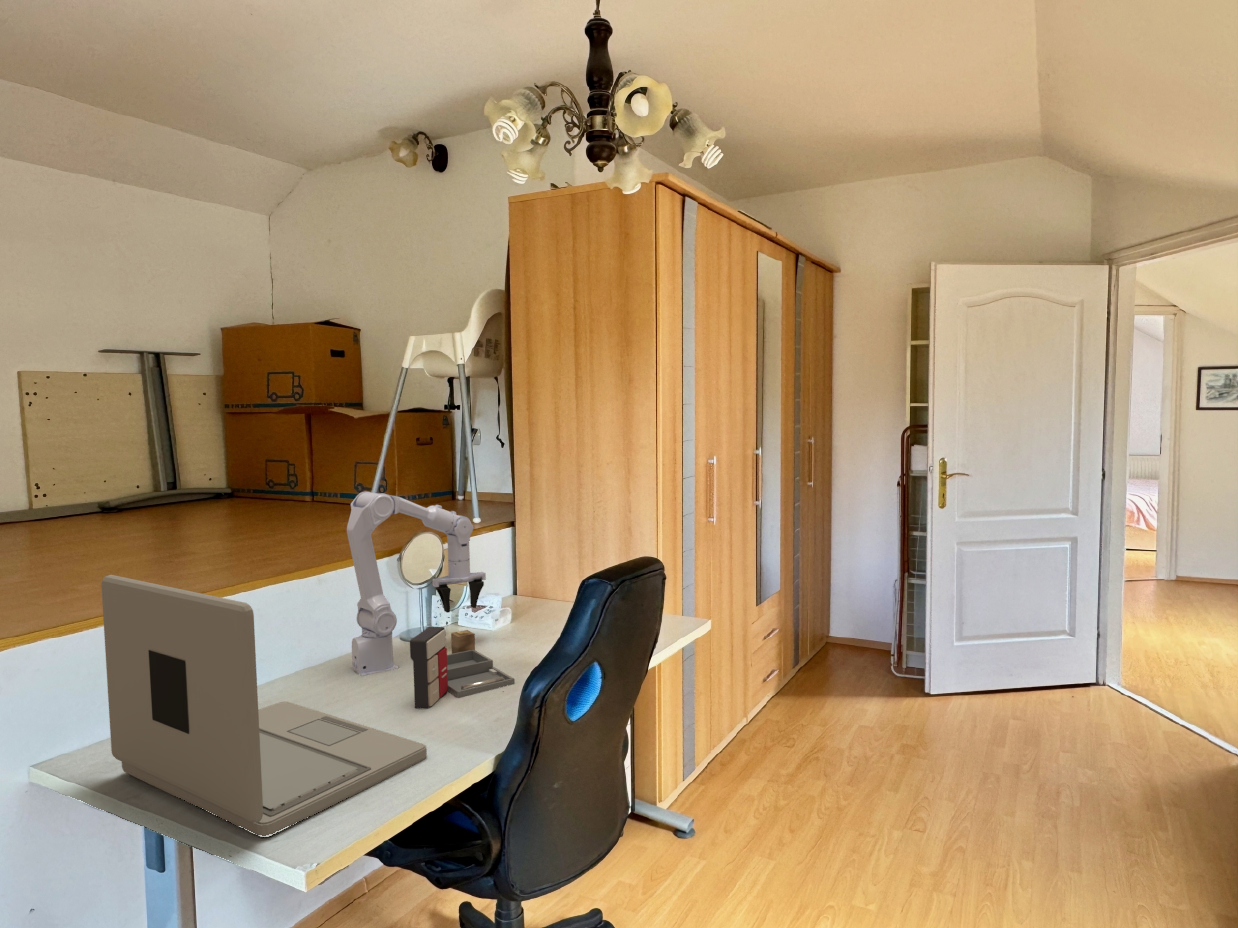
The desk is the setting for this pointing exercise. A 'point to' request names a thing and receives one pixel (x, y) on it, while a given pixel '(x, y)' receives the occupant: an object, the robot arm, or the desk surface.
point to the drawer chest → (429, 666)
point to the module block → (462, 641)
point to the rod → (482, 683)
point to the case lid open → (456, 684)
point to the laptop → (225, 714)
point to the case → (467, 664)
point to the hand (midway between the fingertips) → (460, 609)
